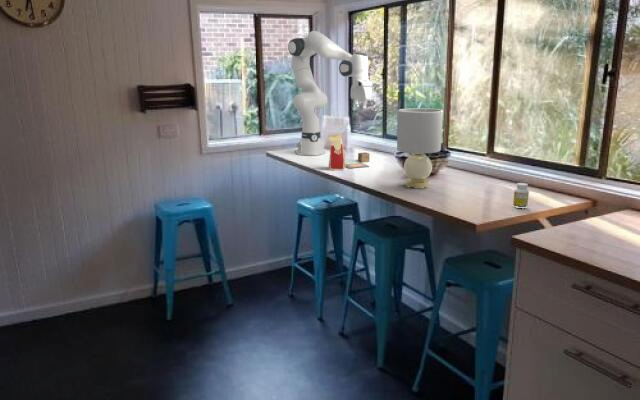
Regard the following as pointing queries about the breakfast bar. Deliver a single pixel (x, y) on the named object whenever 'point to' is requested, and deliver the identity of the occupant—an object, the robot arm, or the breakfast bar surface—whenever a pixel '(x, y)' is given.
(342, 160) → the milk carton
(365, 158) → the brown wooden cube
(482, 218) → the breakfast bar surface
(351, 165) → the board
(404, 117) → the lamp
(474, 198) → the breakfast bar surface
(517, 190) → the supplement bottle
